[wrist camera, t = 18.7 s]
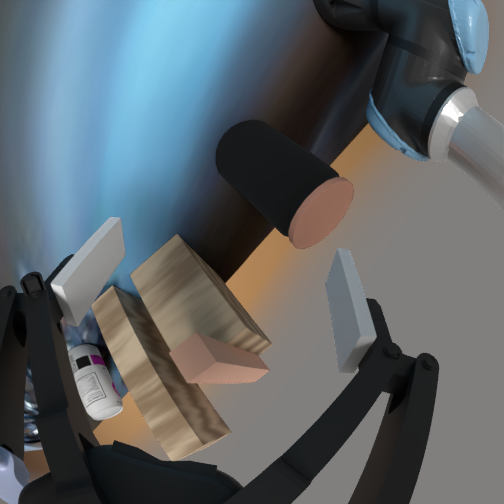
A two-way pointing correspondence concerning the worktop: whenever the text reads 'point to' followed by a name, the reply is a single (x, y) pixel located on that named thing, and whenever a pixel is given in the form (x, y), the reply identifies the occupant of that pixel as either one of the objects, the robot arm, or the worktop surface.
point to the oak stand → (173, 342)
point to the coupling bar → (216, 361)
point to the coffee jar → (283, 181)
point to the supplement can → (94, 382)
